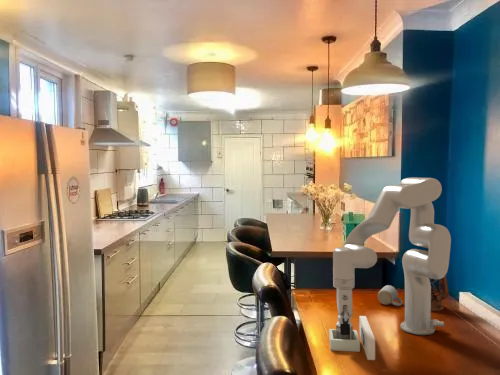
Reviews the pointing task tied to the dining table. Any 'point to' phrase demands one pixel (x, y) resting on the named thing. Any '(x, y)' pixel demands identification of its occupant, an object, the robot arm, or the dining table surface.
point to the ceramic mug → (389, 296)
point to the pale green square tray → (344, 342)
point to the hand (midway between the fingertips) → (343, 329)
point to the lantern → (437, 299)
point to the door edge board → (367, 337)
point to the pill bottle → (338, 335)
